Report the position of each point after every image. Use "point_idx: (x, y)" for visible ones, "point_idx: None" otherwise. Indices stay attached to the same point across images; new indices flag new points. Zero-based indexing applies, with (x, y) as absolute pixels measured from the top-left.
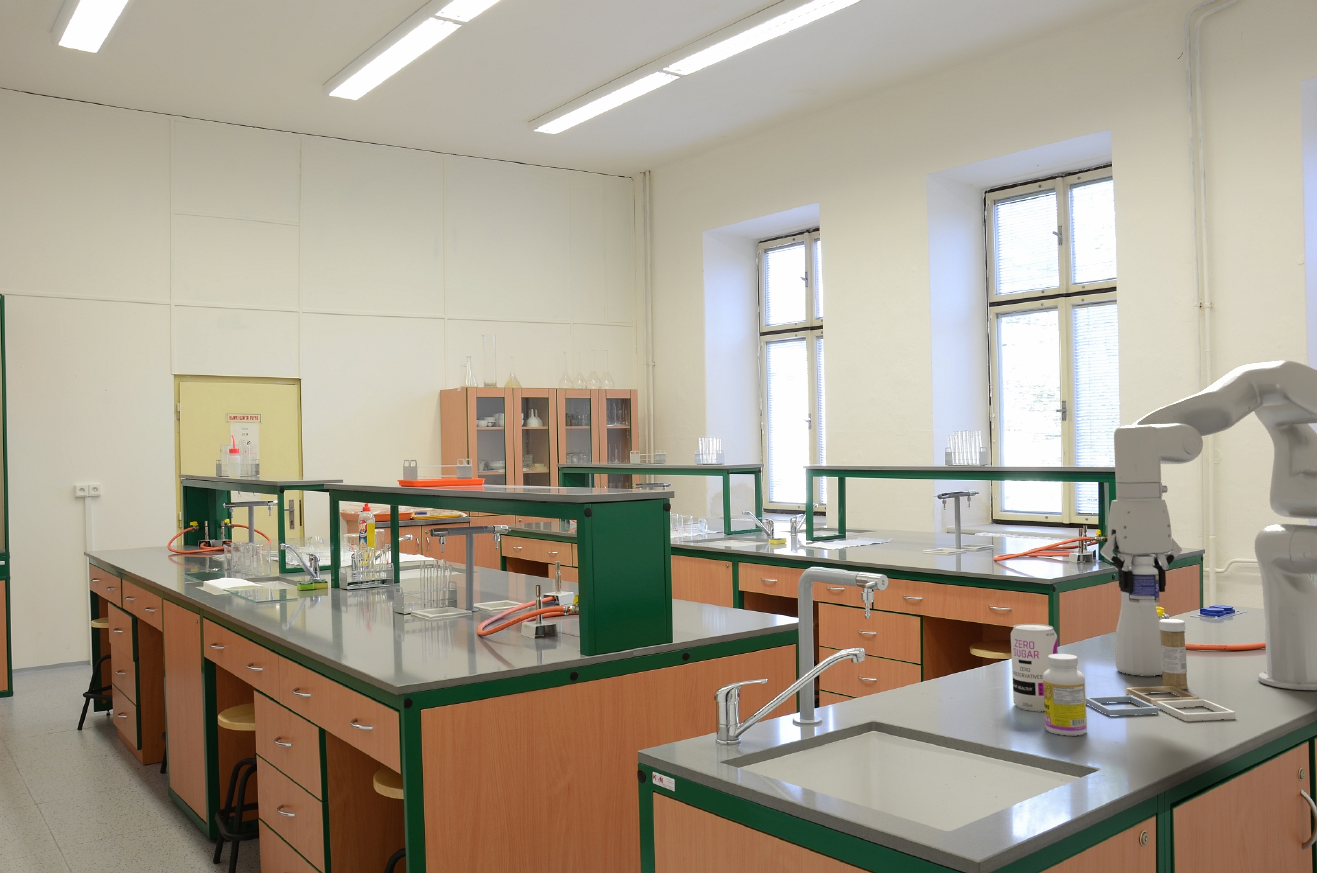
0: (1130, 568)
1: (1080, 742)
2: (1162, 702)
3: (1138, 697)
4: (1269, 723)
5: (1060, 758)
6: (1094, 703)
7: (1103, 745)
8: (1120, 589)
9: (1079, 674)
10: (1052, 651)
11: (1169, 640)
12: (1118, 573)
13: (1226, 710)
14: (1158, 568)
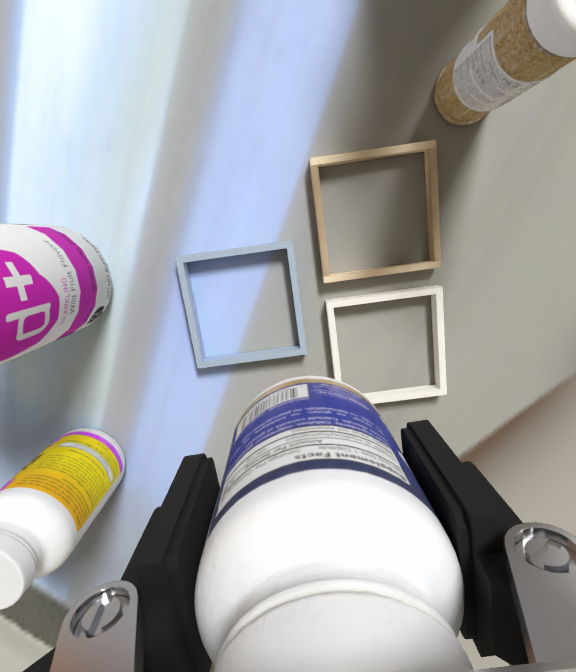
0: (211, 646)
1: (102, 517)
2: (338, 306)
3: (316, 220)
4: (486, 418)
5: (53, 588)
6: (185, 303)
7: (136, 532)
8: (184, 458)
9: (50, 568)
10: (2, 362)
11: (519, 59)
12: (122, 578)
13: (439, 375)
14: (483, 632)
